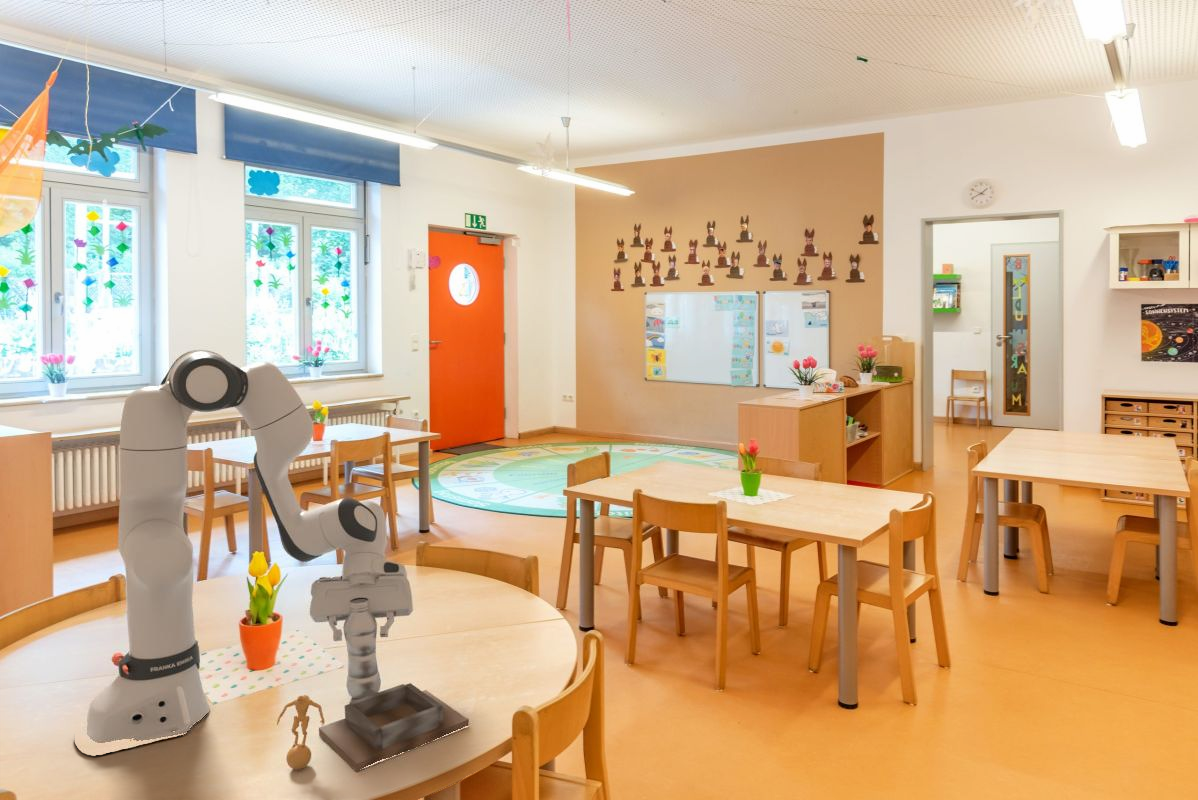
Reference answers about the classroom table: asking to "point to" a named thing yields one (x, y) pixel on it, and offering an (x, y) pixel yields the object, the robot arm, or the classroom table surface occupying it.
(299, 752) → the figurine
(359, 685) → the plastic bottle
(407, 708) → the bottle holder board
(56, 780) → the classroom table surface
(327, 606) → the robot arm
